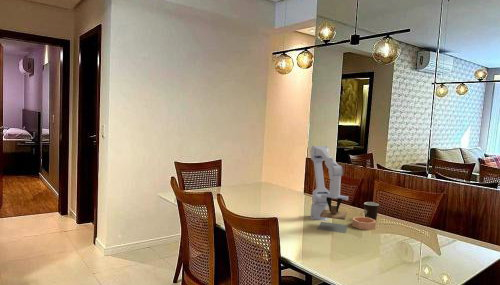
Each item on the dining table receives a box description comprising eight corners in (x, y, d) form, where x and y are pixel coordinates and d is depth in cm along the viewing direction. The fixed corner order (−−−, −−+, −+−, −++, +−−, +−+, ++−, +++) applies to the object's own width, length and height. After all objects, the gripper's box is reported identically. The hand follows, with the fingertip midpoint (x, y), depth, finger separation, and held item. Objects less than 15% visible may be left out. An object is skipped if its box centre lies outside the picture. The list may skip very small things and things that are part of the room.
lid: (319, 216, 192) (320, 207, 192) (323, 211, 205) (323, 202, 204) (344, 219, 188) (345, 210, 188) (346, 213, 200) (347, 205, 200)
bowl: (351, 228, 197) (352, 221, 197) (353, 222, 209) (353, 215, 208) (375, 231, 193) (375, 224, 193) (375, 225, 205) (375, 218, 204)
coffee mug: (379, 222, 209) (380, 206, 209) (363, 221, 211) (364, 205, 210) (376, 217, 221) (377, 201, 220) (361, 216, 222) (362, 200, 222)
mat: (316, 230, 192) (316, 229, 192) (321, 222, 207) (321, 221, 206) (345, 234, 187) (345, 233, 187) (347, 226, 201) (347, 225, 201)
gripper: (320, 187, 194) (319, 211, 195) (348, 190, 189) (346, 215, 190) (322, 185, 201) (321, 208, 202) (349, 187, 196) (347, 211, 197)
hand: (333, 211), depth 196 cm, fingers closed on lid, 3 cm apart
